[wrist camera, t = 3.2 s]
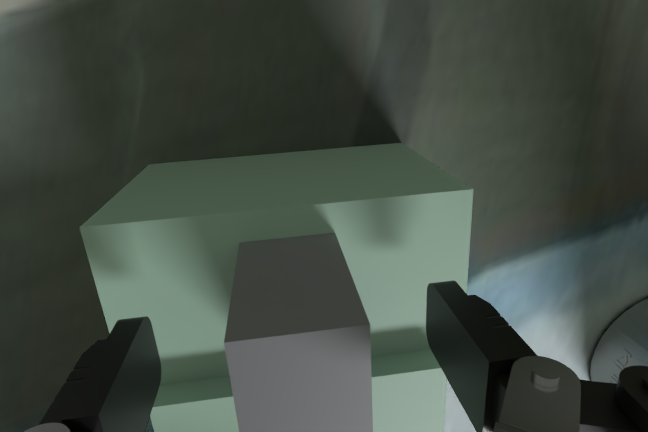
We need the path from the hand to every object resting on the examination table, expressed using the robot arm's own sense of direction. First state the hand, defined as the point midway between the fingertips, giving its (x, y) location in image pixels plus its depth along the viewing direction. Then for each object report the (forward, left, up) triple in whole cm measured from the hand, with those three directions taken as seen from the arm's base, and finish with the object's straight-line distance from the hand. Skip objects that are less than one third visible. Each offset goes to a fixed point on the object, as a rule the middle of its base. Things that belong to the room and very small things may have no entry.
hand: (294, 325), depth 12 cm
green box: (0, +2, -10) cm, 10 cm away
